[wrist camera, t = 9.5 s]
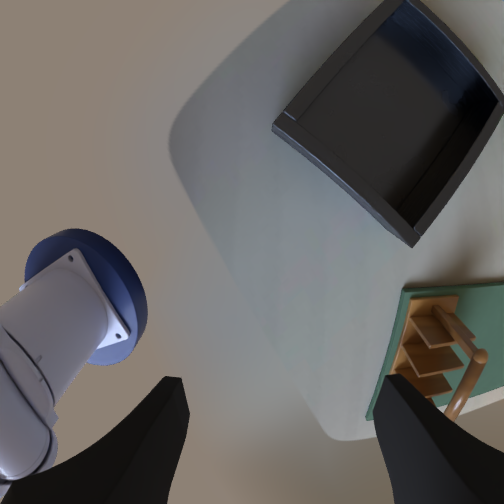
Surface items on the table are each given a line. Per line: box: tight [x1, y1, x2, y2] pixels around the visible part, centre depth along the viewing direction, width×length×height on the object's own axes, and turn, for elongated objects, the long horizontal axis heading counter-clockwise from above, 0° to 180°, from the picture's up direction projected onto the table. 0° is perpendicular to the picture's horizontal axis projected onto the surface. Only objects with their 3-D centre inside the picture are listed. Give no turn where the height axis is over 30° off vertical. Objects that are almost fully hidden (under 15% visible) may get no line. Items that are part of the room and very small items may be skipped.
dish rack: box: [389, 295, 488, 422], centre depth 16 cm, size 8×4×8 cm, turn 1°
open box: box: [271, 0, 504, 248], centre depth 13 cm, size 12×10×4 cm
